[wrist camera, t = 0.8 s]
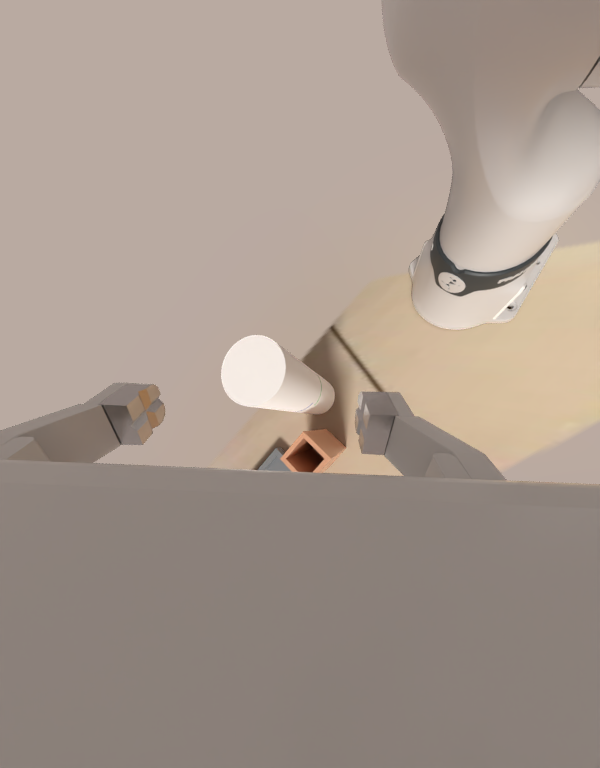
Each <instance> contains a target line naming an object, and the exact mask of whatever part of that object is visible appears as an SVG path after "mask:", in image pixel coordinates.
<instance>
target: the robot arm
mask: <svg viewBox="0 0 600 768" xmlns="http://www.w3.org/2000/svg"><path fill="white" fill-rule="evenodd" d="M382 15H383V24H384V31H385V37H386V42H387V46H388V50H389V53H390V56H391V59H392V62H393V65H394V67H395V69H396V71H397V73H398V75H399V76H400V77H401V78H402V79H403V80H404V81H405V82H407V83H408V84H409V85H410V86H411V87H412V88H414V89H415V90H416V92H417V93H418V94H419V95H420V96H421V97H422V98H423V99H424V100H425V102H426V103H427V105H428V106H429V107H430V109H431V110H432V111H433V113H434V115H435V116H436V118H437V120H438V122H439V124H440V126H441V128H442V131H443V133H444V135H445V138H446V141H447V144H448V147H449V150H450V154H451V160H452V169H453V176H452V183H451V189H450V194H449V199H448V203H447V207H446V211H445V214H444V215H443V217H442V219H441V220H440V222H439V224H438V226H437V228H436V231H435V233H434V234H433V237H432V238H431V239H430V240H428V241H426V242H425V243H424V245H423V248H422V251H421V254H420V255H419V256H418V257H417V258H416V259H415V260H413V261H412V262H411V264H410V266H409V274H410V277H411V279H412V282H413V286H412V300H413V304H414V306H415V309H416V310H417V312H418V313H419V314H420V316H421V317H422V318H424V319H425V320H426V321H428V322H429V323H431V324H433V325H435V326H438V327H441V328H445V329H454V330H458V329H467V328H472V327H475V326H478V325H481V324H485V323H506V322H509V321H511V320H512V319H513V318H514V316H515V315H516V313H517V312H518V310H519V308H520V307H521V305H522V303H523V301H524V300H525V298H526V296H527V295H528V293H529V291H530V289H531V288H532V286H533V284H534V283H535V281H536V279H537V277H538V276H539V274H540V272H541V271H542V269H543V267H544V265H545V264H546V262H547V260H548V259H549V257H550V255H551V253H552V252H553V250H554V248H555V247H556V244H557V243H558V240H559V238H558V236H557V234H556V232H557V231H558V230H559V229H560V227H561V226H562V225H563V224H564V223H565V222H566V221H567V220H568V219H569V218H570V216H571V215H572V214H573V213H574V212H575V211H576V210H577V209H578V208H579V207H580V205H581V204H582V203H583V202H584V201H585V200H586V199H587V198H588V197H589V196H590V195H591V193H592V192H593V191H594V189H595V188H596V186H597V184H598V183H599V181H600V110H599V109H598V108H597V107H596V106H595V104H593V103H592V102H591V101H590V100H589V99H588V98H586V97H585V96H584V95H583V94H582V93H581V92H580V91H579V90H578V87H579V88H595V87H600V0H382ZM508 306H509V307H511V309H508V308H507V307H508ZM159 396H160V391H159V389H158V387H157V386H156V385H154V384H136V383H113V384H112V385H110V386H109V387H108V388H106V389H105V390H103V391H102V392H100V393H99V394H97V395H96V396H94V397H93V398H92V399H90V400H89V401H87V402H86V403H84V404H78V405H75V406H72V407H69V408H66V409H63V410H60V411H58V412H54V413H51V414H49V415H45V416H42V417H39V418H37V419H33V420H31V421H28V422H24V423H21V424H19V425H15V426H12V427H10V428H6V429H4V430H1V431H0V768H600V484H578V483H553V482H552V483H551V482H529V481H507V480H506V479H505V478H504V476H503V475H502V474H501V473H500V472H499V471H498V469H497V468H496V467H495V466H494V465H493V463H492V462H491V461H490V460H489V459H488V457H487V456H486V455H485V454H484V453H482V452H480V451H478V450H477V449H475V448H473V447H471V446H470V445H468V444H466V443H464V442H463V441H461V440H459V439H457V438H455V437H454V436H452V435H450V434H448V433H447V432H445V431H443V430H441V429H440V428H438V427H436V426H434V425H433V424H431V423H429V422H427V421H426V420H424V419H422V418H420V417H415V416H414V414H413V413H412V411H411V410H410V408H409V406H408V405H407V403H406V402H405V400H404V398H403V397H402V395H401V394H400V393H399V392H360V393H359V395H358V404H359V408H358V409H357V410H356V414H355V429H356V433H357V434H358V435H359V445H360V449H361V453H362V454H375V455H385V457H386V458H387V459H388V460H389V461H390V462H391V463H392V464H393V465H394V466H395V467H396V468H397V469H398V470H399V471H400V472H401V473H402V474H403V475H404V476H386V475H362V474H338V473H314V472H291V471H267V470H243V469H218V468H195V467H193V468H192V467H171V466H145V465H124V464H100V463H93V462H95V461H97V460H98V459H100V458H101V457H103V456H105V455H106V454H108V453H109V452H111V451H113V450H114V449H116V448H117V447H119V446H120V445H123V444H124V445H143V444H144V443H145V442H146V441H147V439H148V438H149V437H150V436H151V435H152V433H153V431H152V429H153V428H155V427H157V426H159V425H160V424H161V423H162V421H163V419H164V416H165V406H164V403H162V402H161V401H160V399H158V398H159Z"/></svg>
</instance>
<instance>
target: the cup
mask: <svg viewBox="0 0 600 768" xmlns="http://www.w3.org/2000/svg"><path fill="white" fill-rule="evenodd" d="M345 449H346V447H345V446H344V445H343V444H342V443H341V442H340V441H339V440H337V439H336V438H335V437H334V436H333V435H332V434H331V433H330V432H329V431H328V430H327V429H321V430H312V431H303V433H302V434H301V435H300V436H299V437H298V438H297V440H296V441H295V442H294V443H293V444H292V445H291V447H290V448H289V449H288V450H287V451H286V452H285V454H284V455H283V456H282V457H281V458H280V459H281V460H282V461H283V463H284V464H285V465H286V466H287V467H288V468H289V469H290V470H291V471H292V472H314V473H323V472H324V471H325V470H327V469H328V468H329V467H330V466H331V465H332V463H333V462H334V461H335V460H336V459H337V458H338V457H339V456H340V454H341V453H342V452H343V451H344V450H345Z"/></svg>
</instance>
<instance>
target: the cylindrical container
mask: <svg viewBox="0 0 600 768" xmlns="http://www.w3.org/2000/svg"><path fill="white" fill-rule="evenodd" d="M221 380H222V384H223V387H224V389H225V392H226V393H227V395H228V396H229V397H230V398H231V399H232V400H233V401H234V402H236V403H238V404H240V405H243V406H249V407H257V408H265V409H274V410H282V411H291V412H299V413H308V414H322V413H325V412H327V411H328V410H329V409H330V408H331V407H332V405H333V403H334V400H335V392H334V389H333V387H332V385H331V384H330V383H329V382H328V381H326V380H325V379H324V378H322V377H321V376H320V375H318V374H317V373H316V372H314V371H313V370H312V369H311V368H309V367H308V366H307V365H305V364H304V363H303V362H301V361H300V360H299V359H297V358H296V357H295V356H293V355H292V354H291V353H289V352H288V351H286V350H285V349H284V348H283V347H281V346H280V345H279V344H277V343H276V342H275V341H273V340H272V339H270V338H268V337H266V336H261V335H252V336H248V337H245V338H243V339H241V340H239V341H238V342H236V343H235V344H234V345H233V346H232V347H231V349H230V350H229V351H228V353H227V354H226V357H225V358H224V361H223V364H222V371H221Z"/></svg>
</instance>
